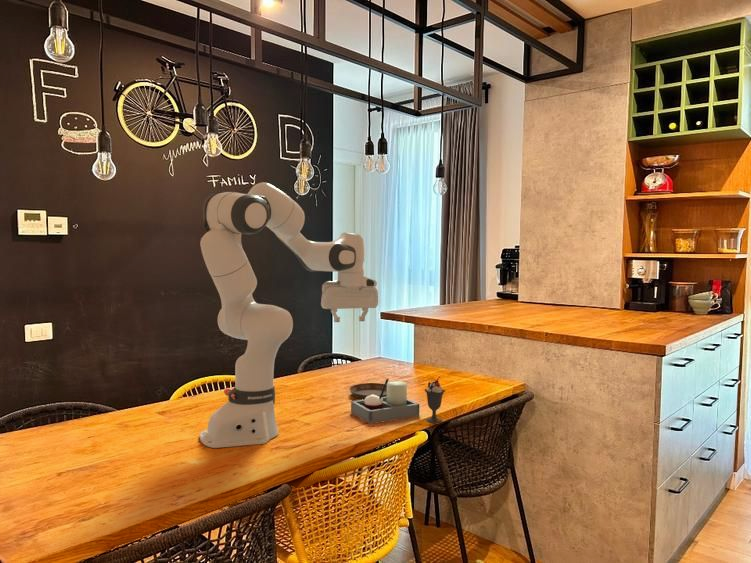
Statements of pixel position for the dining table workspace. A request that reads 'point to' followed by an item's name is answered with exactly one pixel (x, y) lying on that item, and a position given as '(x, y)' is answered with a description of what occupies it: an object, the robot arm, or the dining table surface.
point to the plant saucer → (367, 390)
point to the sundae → (434, 399)
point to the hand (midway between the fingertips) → (349, 321)
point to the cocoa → (375, 400)
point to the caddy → (388, 405)
